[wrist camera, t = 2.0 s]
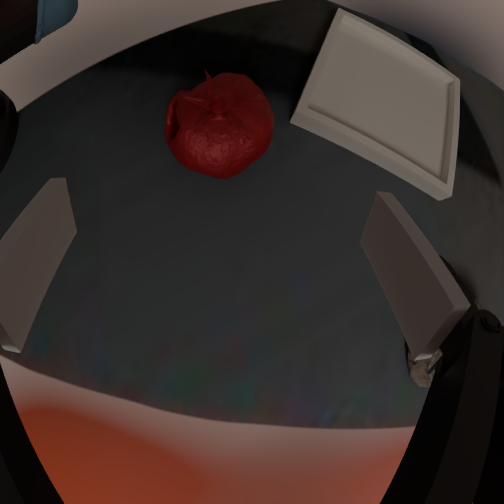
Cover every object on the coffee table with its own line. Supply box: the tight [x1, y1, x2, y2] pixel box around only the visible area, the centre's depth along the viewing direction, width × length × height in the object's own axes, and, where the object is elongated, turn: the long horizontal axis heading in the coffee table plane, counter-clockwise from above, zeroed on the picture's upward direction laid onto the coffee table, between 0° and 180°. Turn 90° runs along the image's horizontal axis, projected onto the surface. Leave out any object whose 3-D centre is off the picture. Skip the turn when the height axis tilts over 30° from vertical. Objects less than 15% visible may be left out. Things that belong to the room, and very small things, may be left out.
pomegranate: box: [164, 69, 274, 179], centre depth 26 cm, size 10×10×9 cm
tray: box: [290, 8, 460, 201], centre depth 33 cm, size 20×20×2 cm
